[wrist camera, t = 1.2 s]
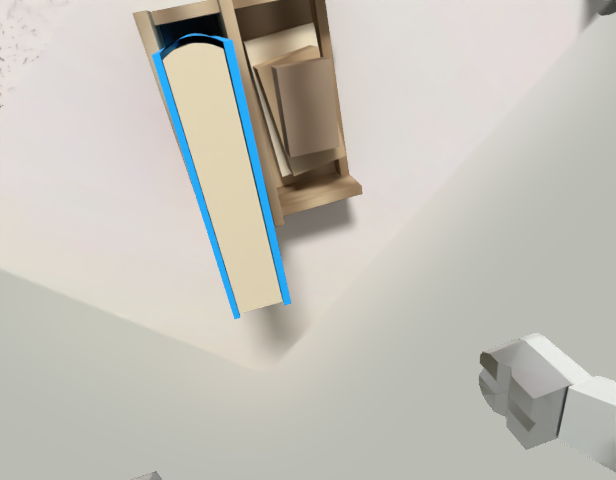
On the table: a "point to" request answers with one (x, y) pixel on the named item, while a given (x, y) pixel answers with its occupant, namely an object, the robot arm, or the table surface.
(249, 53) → the offcut large
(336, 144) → the offcut small
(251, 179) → the book
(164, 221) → the table surface
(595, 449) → the robot arm
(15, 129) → the table surface
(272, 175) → the rack
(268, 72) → the offcut medium
